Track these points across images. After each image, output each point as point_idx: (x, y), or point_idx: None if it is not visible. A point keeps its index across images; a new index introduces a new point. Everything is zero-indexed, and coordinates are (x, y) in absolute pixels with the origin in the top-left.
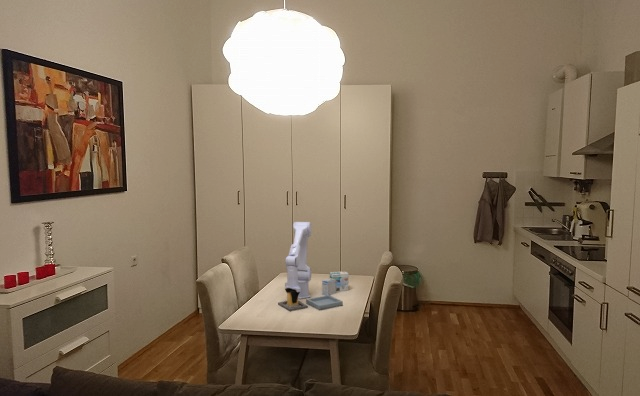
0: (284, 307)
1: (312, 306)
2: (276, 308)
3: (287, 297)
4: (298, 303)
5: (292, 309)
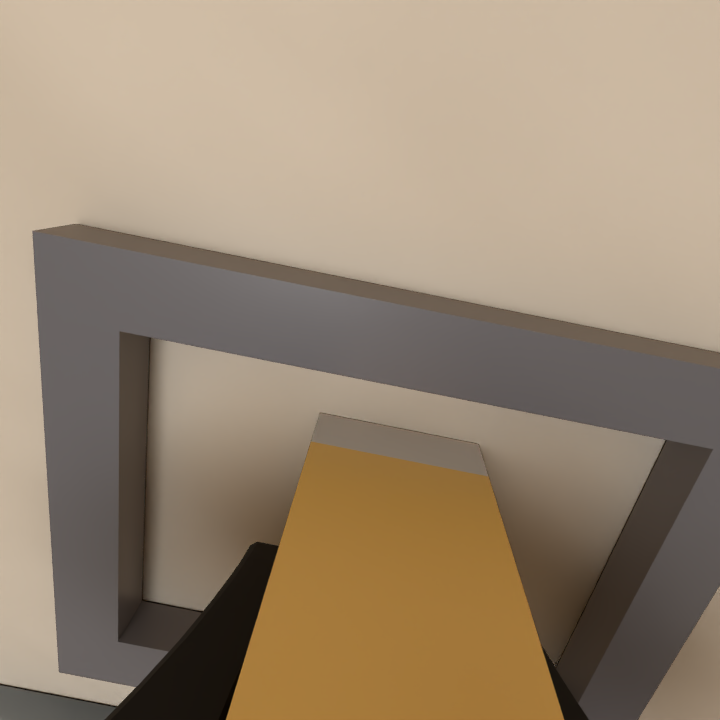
0: (392, 293)
1: (88, 711)
2: (573, 101)
3: (510, 650)
4: None
5: (50, 311)
